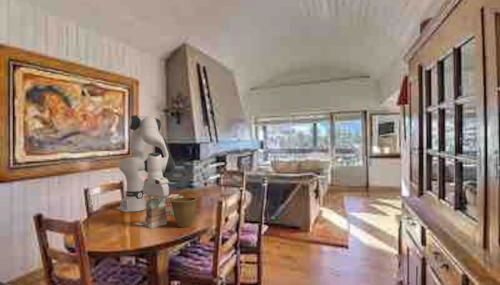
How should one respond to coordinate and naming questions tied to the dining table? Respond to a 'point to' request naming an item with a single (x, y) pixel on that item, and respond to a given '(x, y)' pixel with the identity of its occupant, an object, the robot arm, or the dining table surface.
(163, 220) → the base brick
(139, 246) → the dining table surface
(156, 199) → the brick sage
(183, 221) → the plant pot
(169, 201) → the stack of blocks
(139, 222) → the page
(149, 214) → the brick walnut
